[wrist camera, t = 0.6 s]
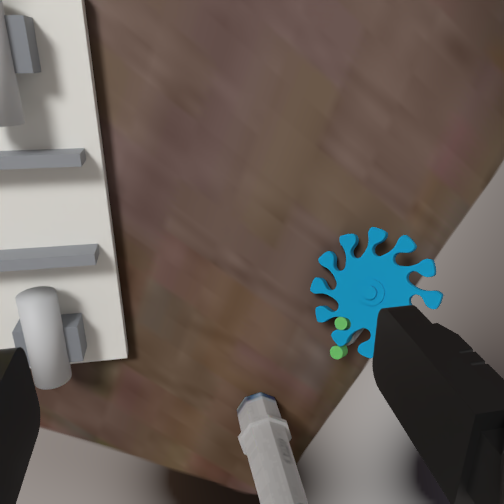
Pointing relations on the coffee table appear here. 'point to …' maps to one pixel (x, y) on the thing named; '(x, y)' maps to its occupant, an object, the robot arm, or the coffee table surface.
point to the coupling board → (54, 196)
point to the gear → (369, 288)
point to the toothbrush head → (269, 451)
